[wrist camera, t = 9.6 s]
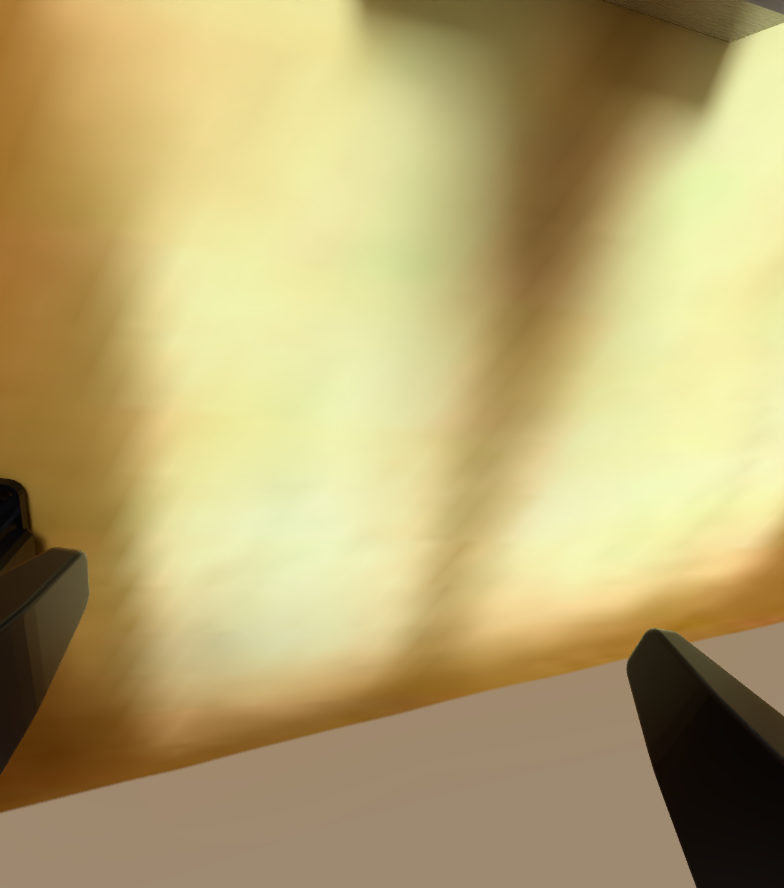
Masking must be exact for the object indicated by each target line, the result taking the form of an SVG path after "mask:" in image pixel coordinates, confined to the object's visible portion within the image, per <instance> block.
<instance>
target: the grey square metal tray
mask: <svg viewBox="0 0 784 888" xmlns="http://www.w3.org/2000/svg"><path fill="white" fill-rule="evenodd" d="M605 1H608V2H611V3H614V4H617V5H620V6H623V7H626V8H629V9H632V10H635V11H638V12H641V13H644V14H647V15H650V16H653V17H656V18H659V19H662V20H665V21H668V22H671V23H674V24H677V25H680V26H683V27H686V28H689V29H692V30H695V31H698V32H701V33H704V34H707V35H710V36H713V37H716V38H719V39H722V40H725V41H728V42H733V41H736V40H738V39H741V38H744V37H746V36H749V35H752V34H754V33H757V32H760V31H762V30H765V29H768V28H770V27H773V26H776V25H778V24H781V23H784V0H605Z"/></svg>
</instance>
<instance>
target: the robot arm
mask: <svg viewBox="0 0 784 888" xmlns="http://www.w3.org/2000/svg"><path fill="white" fill-rule="evenodd" d="M4 490H7V491H9V492H10V493H11V494H12V496H11V495H8V494H6V493H5V492H4ZM88 599H89V579H88V563H87V556H86V554H85V553H84V552H83V551H81V550H75V549H68V548H61V547H54V548H51V549H48V550H46V551H44V552H42V553H41V554H39V555H37V556H36V551H35V542H34V535H33V533H32V532H31V530H30V529H29V525H28V516H27V507H26V499H25V491H24V488H23V487H22V485H21V484H20V483H18V482H16V481H15V480H11V479H4V478H0V775H1V773H2V771H3V770H4V768H5V766H6V764H7V763H8V761H9V759H10V758H11V756H12V754H13V753H14V751H15V749H16V748H17V746H18V744H19V743H20V741H21V739H22V738H23V736H24V734H25V733H26V731H27V729H28V727H29V726H30V724H31V722H32V720H33V719H34V717H35V715H36V713H37V711H38V709H39V707H40V705H41V703H42V701H43V699H44V697H45V695H46V693H47V691H48V689H49V686H50V684H51V682H52V680H53V678H54V676H55V674H56V671H57V669H58V667H59V665H60V663H61V661H62V658H63V656H64V654H65V652H66V650H67V648H68V646H69V643H70V641H71V639H72V637H73V635H74V633H75V630H76V628H77V626H78V624H79V622H80V620H81V617H82V615H83V613H84V611H85V609H86V606H87V603H88ZM627 676H628V680H629V684H630V687H631V691H632V694H633V698H634V702H635V705H636V709H637V713H638V716H639V720H640V724H641V727H642V731H643V735H644V739H645V742H646V746H647V749H648V753H649V757H650V760H651V763H652V767H653V770H654V773H655V776H656V779H657V781H658V784H659V787H660V790H661V792H662V795H663V798H664V800H665V803H666V806H667V809H668V811H669V814H670V817H671V820H672V822H673V825H674V828H675V830H676V833H677V836H678V838H679V842H680V844H681V846H682V850H683V852H684V855H685V858H686V861H687V863H688V866H689V869H690V871H691V874H692V877H693V880H694V882H695V885H696V888H784V716H783V715H782V714H780V713H779V712H778V711H776V710H775V709H774V708H773V707H771V706H770V705H769V704H767V703H766V702H765V701H764V700H762V699H761V698H760V697H759V696H757V695H756V694H754V693H753V692H752V691H751V690H750V689H748V688H747V687H746V686H744V685H743V684H742V683H741V682H739V681H738V680H737V679H736V678H734V677H733V676H732V675H730V674H729V673H728V672H727V671H725V670H724V669H723V668H721V667H720V666H719V665H717V664H716V663H715V662H714V661H713V660H711V659H710V658H709V657H707V656H706V655H705V654H704V653H702V652H701V651H700V650H698V649H697V648H696V647H695V646H693V645H692V644H691V643H690V642H688V641H687V640H686V639H684V638H683V637H682V636H681V635H679V634H678V633H676V632H674V631H671V630H664V629H657V628H652V629H649V630H647V631H646V632H645V633H644V635H643V637H642V638H641V640H640V641H639V643H638V644H637V646H636V648H635V649H634V651H633V652H632V654H631V655H630V657H629V659H628V662H627Z"/></svg>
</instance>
